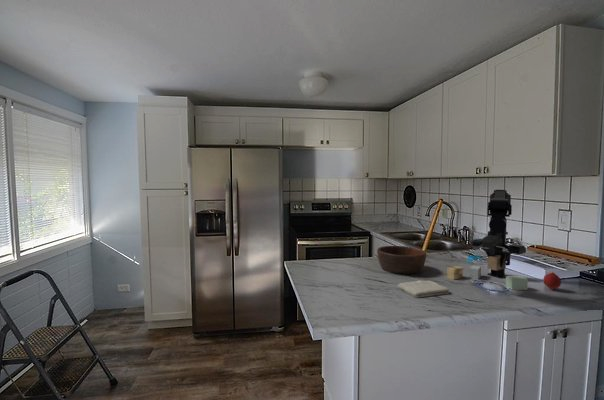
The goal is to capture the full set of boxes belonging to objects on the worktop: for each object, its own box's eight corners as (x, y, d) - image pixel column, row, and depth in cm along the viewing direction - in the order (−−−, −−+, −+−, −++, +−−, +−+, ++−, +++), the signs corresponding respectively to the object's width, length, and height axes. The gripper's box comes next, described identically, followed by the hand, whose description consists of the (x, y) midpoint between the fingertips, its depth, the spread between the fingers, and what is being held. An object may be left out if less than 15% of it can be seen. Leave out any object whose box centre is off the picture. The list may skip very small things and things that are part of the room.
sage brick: (520, 287, 129) (521, 276, 128) (527, 289, 125) (527, 278, 125) (505, 287, 128) (506, 276, 128) (511, 290, 125) (512, 278, 124)
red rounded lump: (556, 288, 127) (557, 270, 127) (563, 292, 122) (564, 273, 121) (540, 286, 129) (541, 268, 129) (546, 290, 123) (547, 272, 123)
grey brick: (472, 274, 146) (473, 265, 146) (480, 276, 144) (481, 266, 144) (469, 278, 141) (469, 267, 141) (477, 279, 139) (478, 269, 138)
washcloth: (451, 294, 120) (451, 287, 120) (415, 299, 115) (415, 292, 114) (430, 285, 132) (430, 278, 131) (396, 289, 126) (396, 282, 126)
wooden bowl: (368, 269, 154) (369, 250, 154) (388, 260, 173) (388, 243, 173) (416, 279, 138) (416, 258, 138) (432, 268, 157) (432, 249, 157)
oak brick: (455, 275, 144) (456, 265, 144) (462, 277, 141) (462, 267, 141) (446, 277, 141) (447, 267, 141) (453, 279, 138) (453, 269, 138)
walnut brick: (496, 266, 125) (497, 254, 125) (505, 268, 122) (506, 256, 122) (487, 268, 122) (487, 256, 122) (496, 270, 119) (496, 258, 119)
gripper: (464, 227, 126) (463, 263, 127) (512, 234, 110) (510, 274, 110) (479, 226, 131) (478, 260, 132) (527, 231, 115) (525, 270, 116)
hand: (496, 265), depth 122 cm, fingers closed on walnut brick, 3 cm apart
